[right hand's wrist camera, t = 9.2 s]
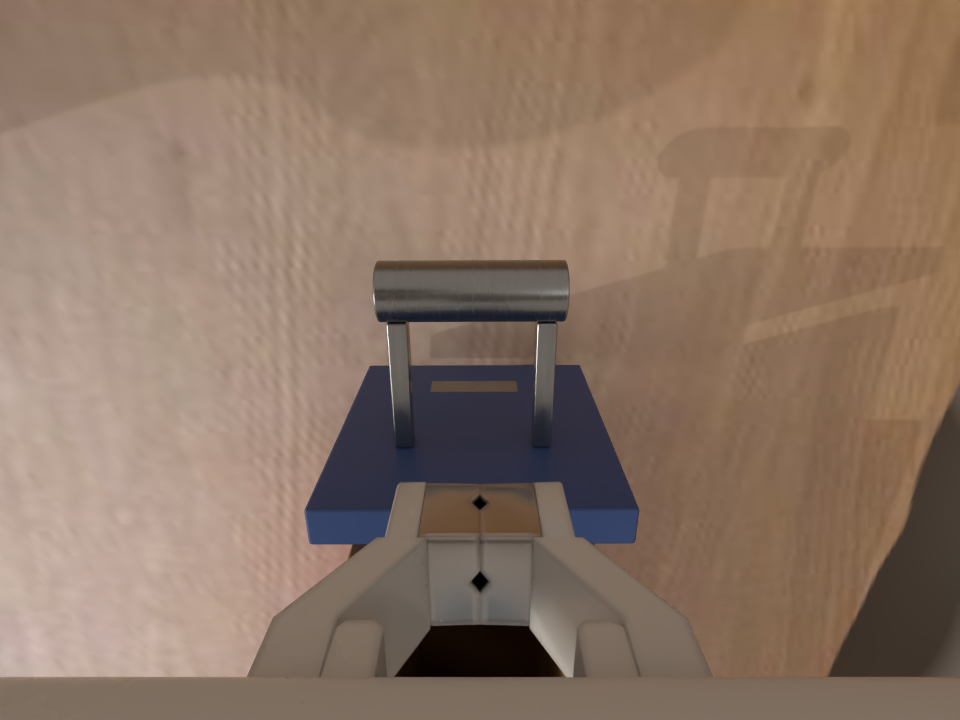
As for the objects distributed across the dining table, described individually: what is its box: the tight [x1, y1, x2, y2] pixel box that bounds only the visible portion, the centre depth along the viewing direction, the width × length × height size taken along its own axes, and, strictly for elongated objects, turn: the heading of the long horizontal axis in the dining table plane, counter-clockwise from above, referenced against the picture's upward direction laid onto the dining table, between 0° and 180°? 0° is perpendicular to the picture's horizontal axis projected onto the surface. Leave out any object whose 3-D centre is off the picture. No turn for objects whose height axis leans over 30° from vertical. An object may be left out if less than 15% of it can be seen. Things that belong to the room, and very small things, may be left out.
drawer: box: [305, 260, 639, 677], centre depth 22 cm, size 26×9×10 cm, turn 0°
